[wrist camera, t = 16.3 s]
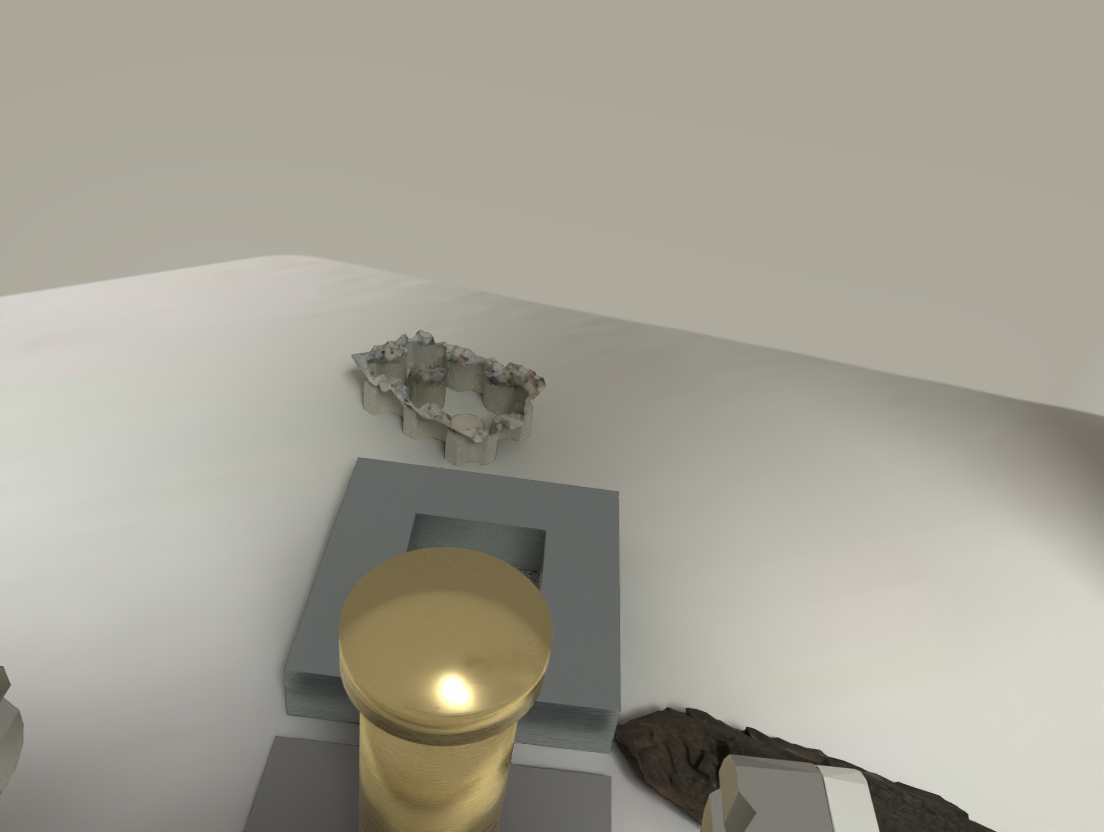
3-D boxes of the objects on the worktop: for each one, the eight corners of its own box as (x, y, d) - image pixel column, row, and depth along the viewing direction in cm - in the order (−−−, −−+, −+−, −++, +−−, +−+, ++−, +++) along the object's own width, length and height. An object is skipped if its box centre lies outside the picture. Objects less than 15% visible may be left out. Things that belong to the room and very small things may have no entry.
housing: (609, 532, 52) (618, 491, 50) (608, 753, 41) (620, 711, 39) (357, 499, 52) (357, 457, 50) (286, 714, 40) (284, 669, 39)
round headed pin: (514, 795, 38) (557, 560, 30) (500, 957, 33) (547, 726, 25) (361, 778, 38) (363, 535, 30) (323, 937, 33) (314, 698, 25)
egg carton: (546, 433, 59) (555, 380, 57) (463, 485, 54) (468, 429, 52) (429, 359, 64) (432, 307, 62) (342, 400, 59) (342, 345, 57)
